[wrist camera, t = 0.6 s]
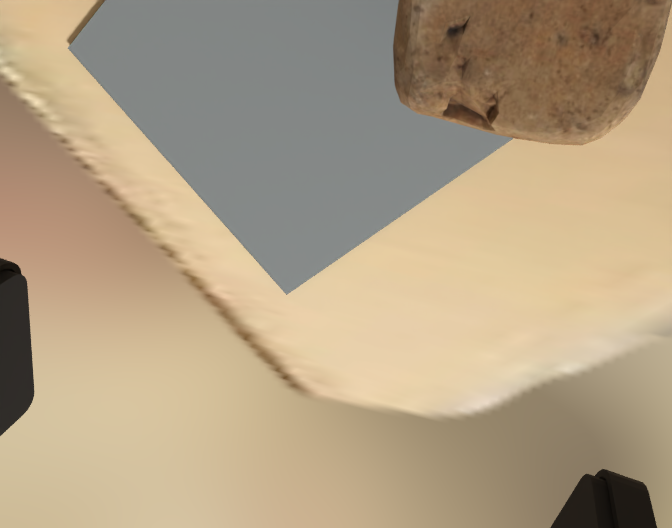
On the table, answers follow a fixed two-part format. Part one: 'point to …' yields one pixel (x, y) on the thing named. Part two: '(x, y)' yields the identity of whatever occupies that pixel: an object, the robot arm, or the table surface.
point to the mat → (279, 118)
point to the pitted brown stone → (528, 63)
